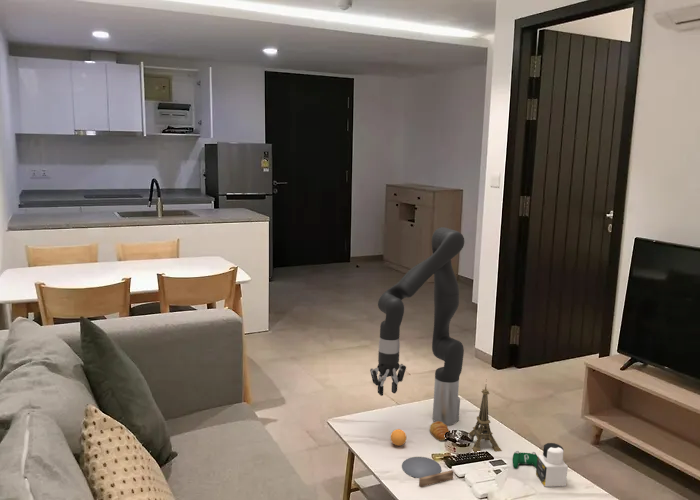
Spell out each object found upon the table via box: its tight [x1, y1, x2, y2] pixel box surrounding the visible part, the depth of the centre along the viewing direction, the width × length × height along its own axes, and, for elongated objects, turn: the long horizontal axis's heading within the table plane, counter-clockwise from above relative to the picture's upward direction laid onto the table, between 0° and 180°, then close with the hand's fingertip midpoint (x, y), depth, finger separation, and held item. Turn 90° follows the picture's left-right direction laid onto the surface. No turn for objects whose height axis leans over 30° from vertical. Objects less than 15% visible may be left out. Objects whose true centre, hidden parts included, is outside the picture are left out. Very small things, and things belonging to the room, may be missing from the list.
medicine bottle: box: [535, 442, 569, 488], centre depth 189 cm, size 7×7×12 cm
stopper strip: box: [418, 469, 454, 488], centre depth 187 cm, size 12×1×2 cm, turn 114°
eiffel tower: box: [468, 379, 503, 453], centre depth 209 cm, size 11×11×25 cm
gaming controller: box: [512, 450, 538, 469], centre depth 199 cm, size 9×4×6 cm
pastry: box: [429, 421, 450, 442], centre depth 217 cm, size 9×7×4 cm
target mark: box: [401, 456, 442, 479], centre depth 196 cm, size 13×13×1 cm
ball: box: [390, 428, 407, 447], centre depth 209 cm, size 6×6×6 cm
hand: (387, 393), depth 216 cm, fingers open, 4 cm apart
